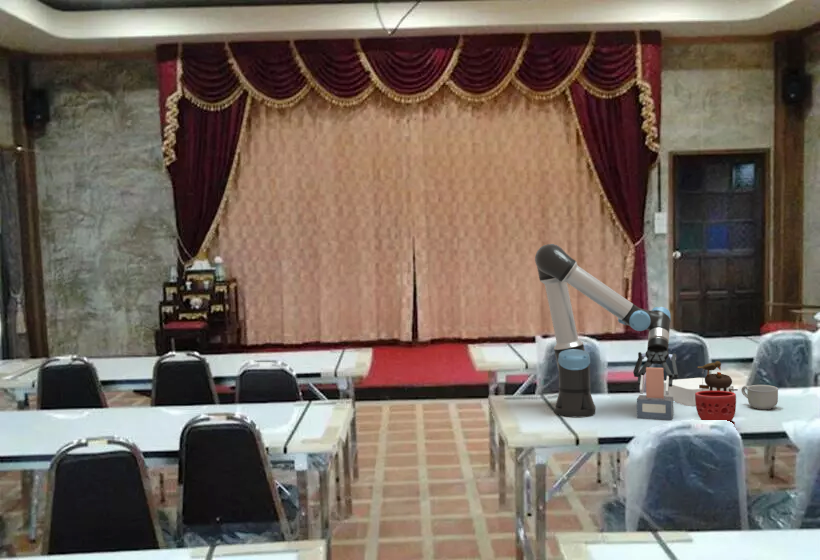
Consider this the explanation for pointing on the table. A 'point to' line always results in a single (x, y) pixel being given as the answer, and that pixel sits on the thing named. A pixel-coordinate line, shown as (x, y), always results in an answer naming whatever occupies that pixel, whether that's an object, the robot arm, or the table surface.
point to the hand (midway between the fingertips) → (654, 392)
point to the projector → (688, 390)
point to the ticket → (655, 382)
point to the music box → (716, 378)
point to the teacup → (761, 396)
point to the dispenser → (655, 408)
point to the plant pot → (719, 411)
